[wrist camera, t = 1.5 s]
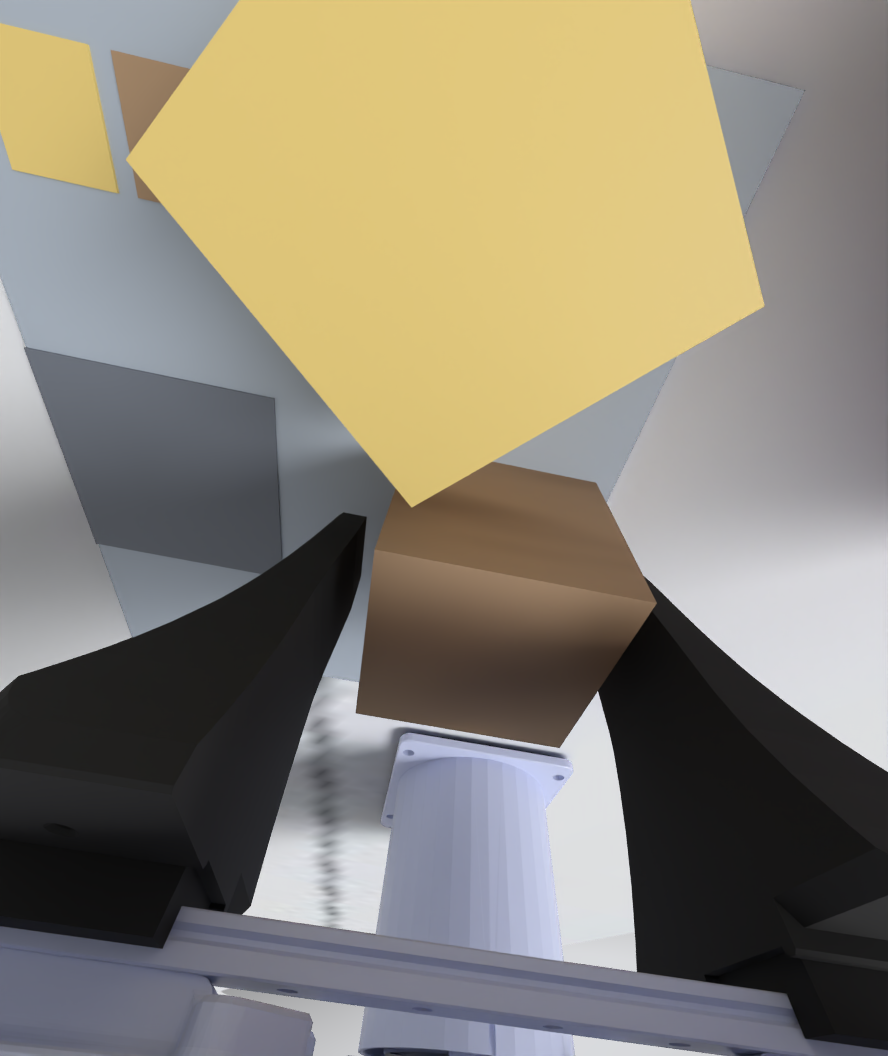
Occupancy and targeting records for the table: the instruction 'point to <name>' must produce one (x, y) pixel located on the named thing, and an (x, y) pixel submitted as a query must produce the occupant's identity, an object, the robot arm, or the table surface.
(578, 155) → the mustard block
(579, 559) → the walnut block
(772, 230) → the table surface
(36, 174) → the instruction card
